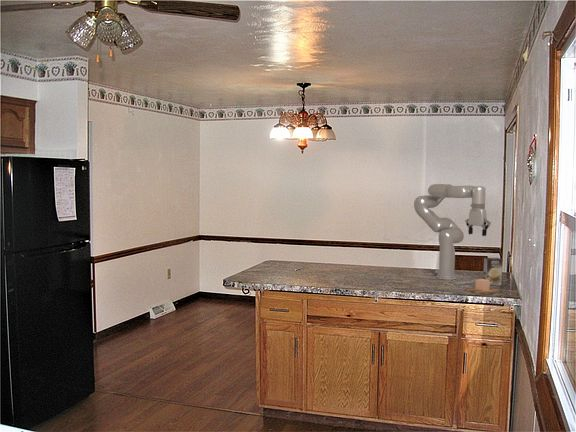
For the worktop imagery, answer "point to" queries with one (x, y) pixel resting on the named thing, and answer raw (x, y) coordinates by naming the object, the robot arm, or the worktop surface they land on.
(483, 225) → the robot arm
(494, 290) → the walnut board
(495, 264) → the coffee box
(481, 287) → the cube
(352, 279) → the worktop surface
